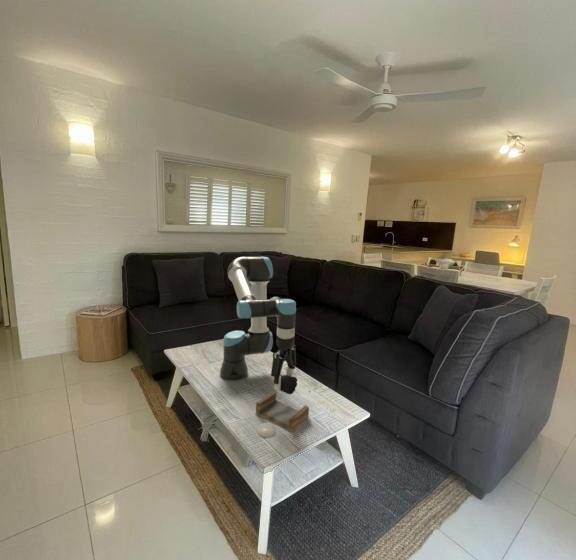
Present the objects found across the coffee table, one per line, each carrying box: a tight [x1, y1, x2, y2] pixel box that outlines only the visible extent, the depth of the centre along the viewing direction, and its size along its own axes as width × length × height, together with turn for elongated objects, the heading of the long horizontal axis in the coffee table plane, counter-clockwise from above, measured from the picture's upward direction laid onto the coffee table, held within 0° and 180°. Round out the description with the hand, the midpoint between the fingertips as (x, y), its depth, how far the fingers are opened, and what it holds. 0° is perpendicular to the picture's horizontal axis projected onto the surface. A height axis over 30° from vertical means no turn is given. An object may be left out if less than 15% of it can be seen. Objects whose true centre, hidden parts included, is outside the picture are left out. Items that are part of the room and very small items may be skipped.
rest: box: [255, 390, 310, 433], centre depth 136 cm, size 20×12×5 cm, turn 54°
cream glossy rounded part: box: [256, 422, 277, 438], centre depth 126 cm, size 8×8×1 cm
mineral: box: [273, 373, 298, 395], centre depth 131 cm, size 10×9×6 cm
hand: (283, 385), depth 133 cm, fingers closed on mineral, 8 cm apart
